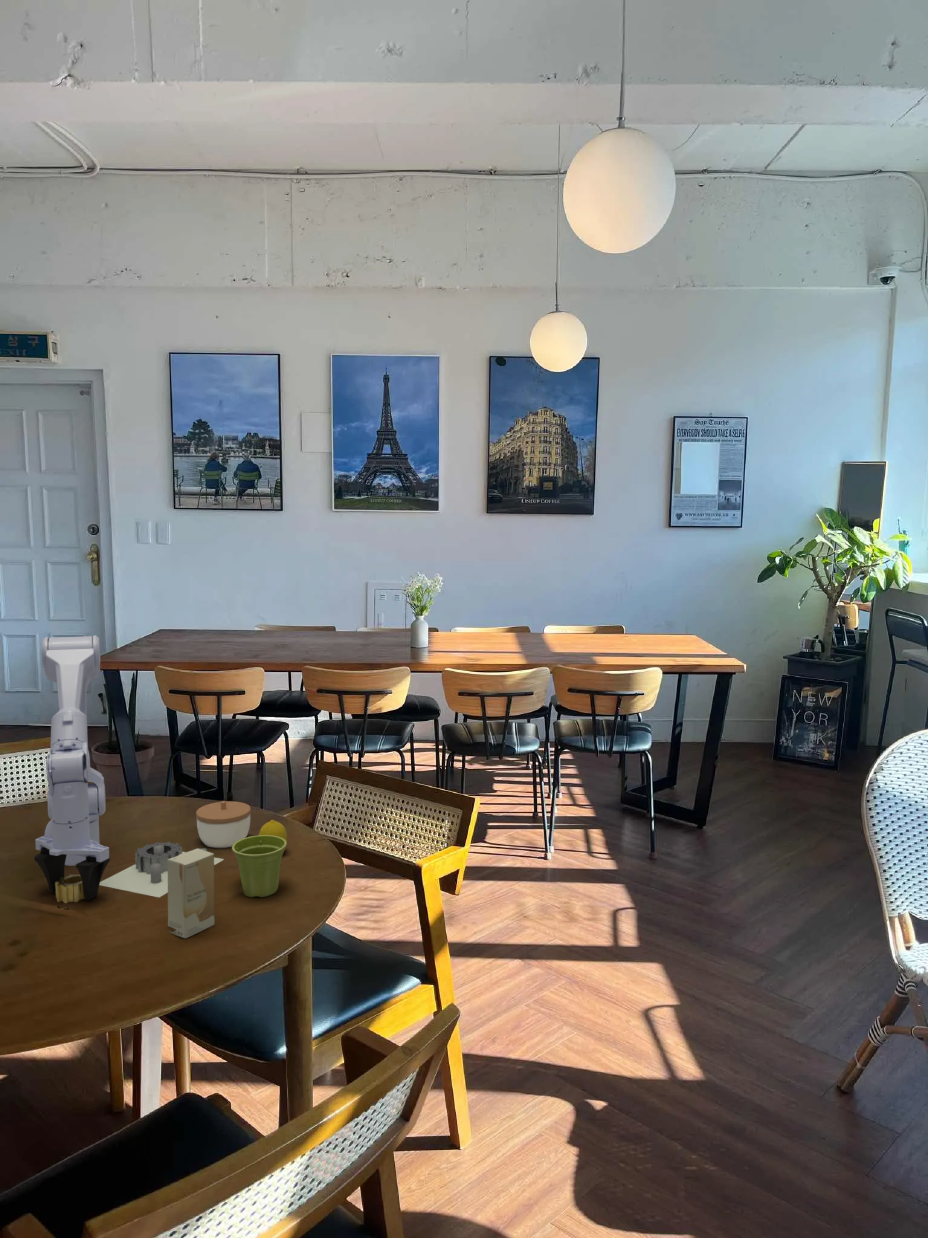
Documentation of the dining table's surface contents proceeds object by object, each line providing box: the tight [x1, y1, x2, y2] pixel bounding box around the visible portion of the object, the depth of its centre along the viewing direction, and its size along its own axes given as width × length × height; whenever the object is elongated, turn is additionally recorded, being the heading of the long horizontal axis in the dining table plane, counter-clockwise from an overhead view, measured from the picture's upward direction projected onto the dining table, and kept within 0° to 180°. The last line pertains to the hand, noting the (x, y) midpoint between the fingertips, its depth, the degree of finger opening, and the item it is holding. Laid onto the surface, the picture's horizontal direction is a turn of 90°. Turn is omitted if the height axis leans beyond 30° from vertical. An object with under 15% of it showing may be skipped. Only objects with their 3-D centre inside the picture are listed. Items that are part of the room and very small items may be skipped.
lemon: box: [258, 819, 288, 851], centre depth 163 cm, size 6×6×8 cm
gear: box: [134, 841, 183, 874], centre depth 157 cm, size 8×8×3 cm
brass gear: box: [55, 873, 85, 911], centre depth 144 cm, size 6×6×4 cm
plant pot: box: [231, 834, 287, 898], centre depth 149 cm, size 9×9×9 cm
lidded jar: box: [195, 800, 252, 849], centre depth 170 cm, size 11×11×9 cm
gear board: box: [99, 845, 225, 898], centre depth 154 cm, size 14×18×5 cm
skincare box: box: [167, 848, 215, 939], centre depth 135 cm, size 6×4×12 cm
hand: (73, 894), depth 144 cm, fingers open, 7 cm apart
